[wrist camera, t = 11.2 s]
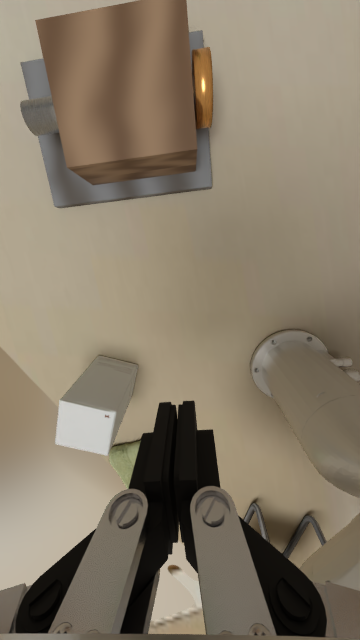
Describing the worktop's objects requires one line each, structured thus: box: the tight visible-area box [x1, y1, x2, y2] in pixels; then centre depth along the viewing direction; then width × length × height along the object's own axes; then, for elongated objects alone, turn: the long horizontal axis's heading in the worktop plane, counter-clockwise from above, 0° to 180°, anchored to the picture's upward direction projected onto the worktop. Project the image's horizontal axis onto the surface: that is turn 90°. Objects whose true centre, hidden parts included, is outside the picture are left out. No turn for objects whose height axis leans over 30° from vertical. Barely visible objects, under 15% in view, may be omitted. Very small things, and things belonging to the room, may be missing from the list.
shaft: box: [20, 47, 213, 136], centre depth 25 cm, size 20×6×6 cm, turn 96°
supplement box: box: [55, 355, 138, 456], centre depth 35 cm, size 7×7×13 cm
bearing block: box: [21, 0, 212, 208], centre depth 27 cm, size 22×16×8 cm
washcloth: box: [109, 440, 141, 489], centre depth 46 cm, size 13×18×3 cm
